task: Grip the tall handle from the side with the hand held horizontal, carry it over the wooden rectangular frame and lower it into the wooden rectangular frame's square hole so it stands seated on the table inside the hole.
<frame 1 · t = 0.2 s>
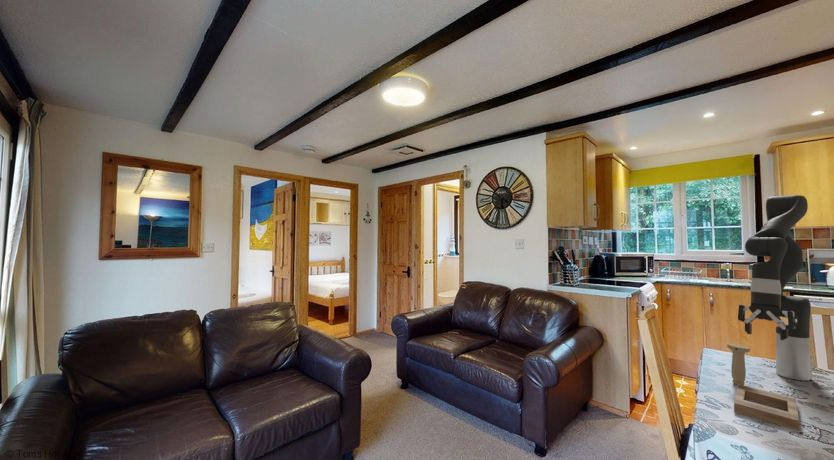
hand: (765, 336, 117), 22 cm above the table, tool pointing down, fingers open, 8 cm apart
wooden rectangular frame: (765, 409, 109), on the table
handle: (738, 384, 128), on the table
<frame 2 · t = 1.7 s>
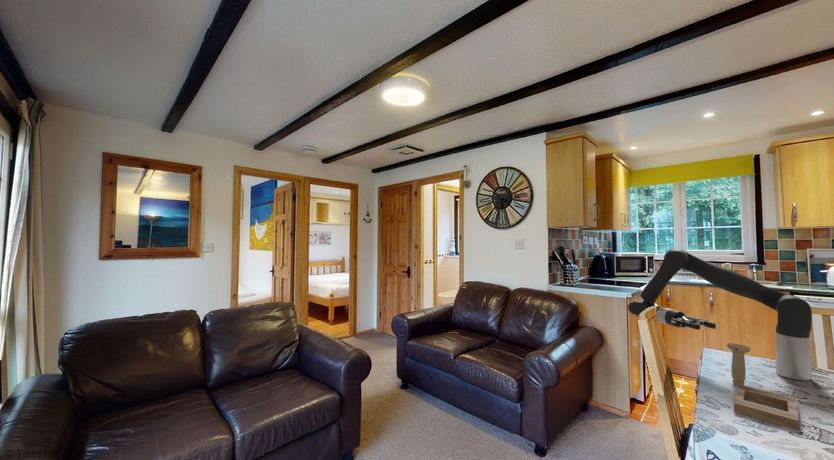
hand: (707, 326, 139), 19 cm above the table, tool horizontal, fingers open, 8 cm apart
nothing on the table moved.
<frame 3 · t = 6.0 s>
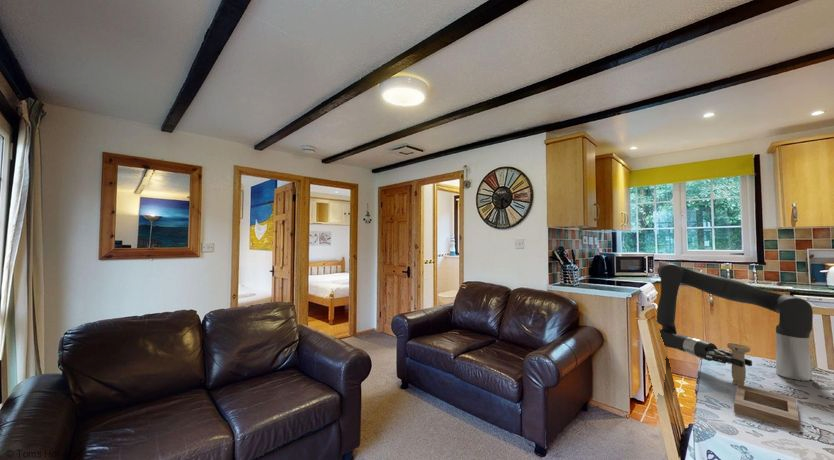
hand: (747, 363, 125), 9 cm above the table, tool horizontal, fingers closed on handle, 3 cm apart
handle: (738, 384, 128), on the table, touching gripper
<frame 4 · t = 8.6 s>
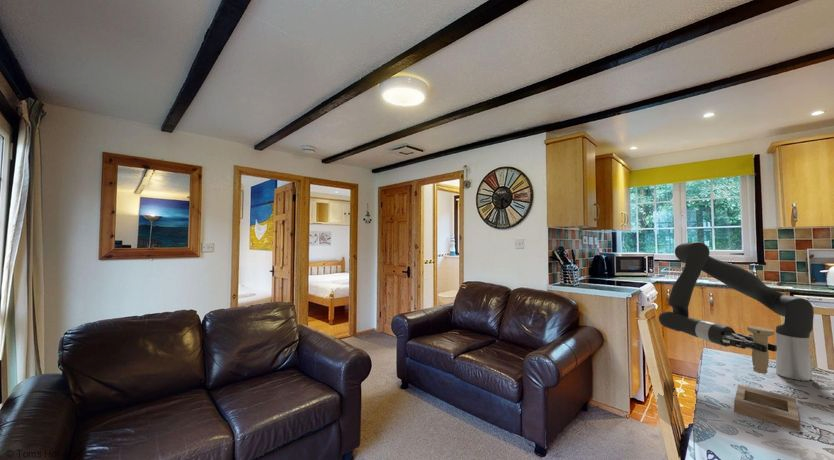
hand: (771, 348, 108), 21 cm above the table, tool horizontal, fingers closed on handle, 3 cm apart
handle: (760, 372, 111), point 12 cm above the table, touching gripper
when the fingers open (10 cm above the table, at t = 11.6 s): handle drops 1 cm, resting in wooden rectangular frame.
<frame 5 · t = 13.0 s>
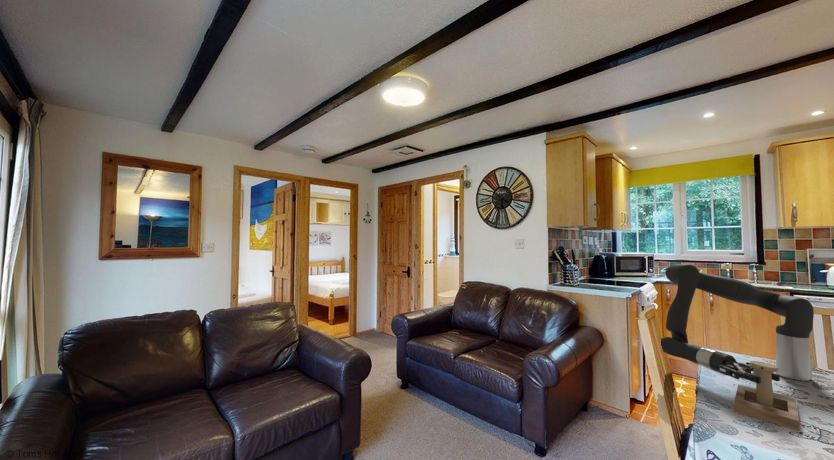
hand: (769, 379, 108), 10 cm above the table, tool horizontal, fingers open, 8 cm apart
handle: (764, 409, 110), resting in wooden rectangular frame
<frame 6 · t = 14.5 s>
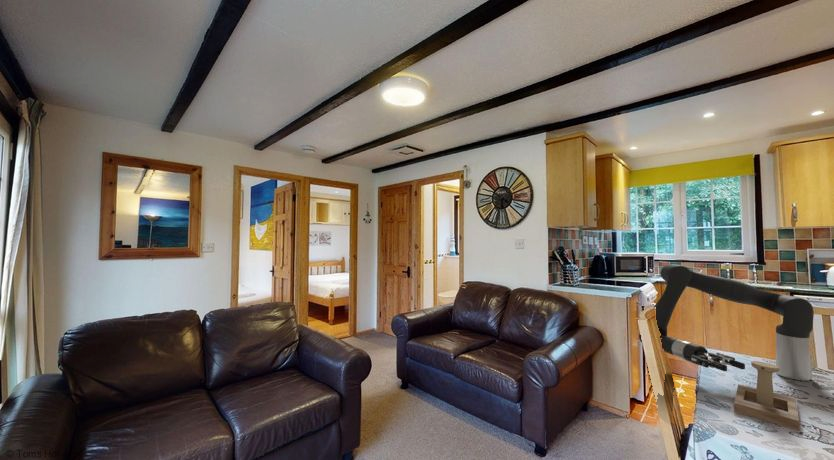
hand: (735, 367, 118), 11 cm above the table, tool horizontal, fingers open, 8 cm apart
nothing on the table moved.
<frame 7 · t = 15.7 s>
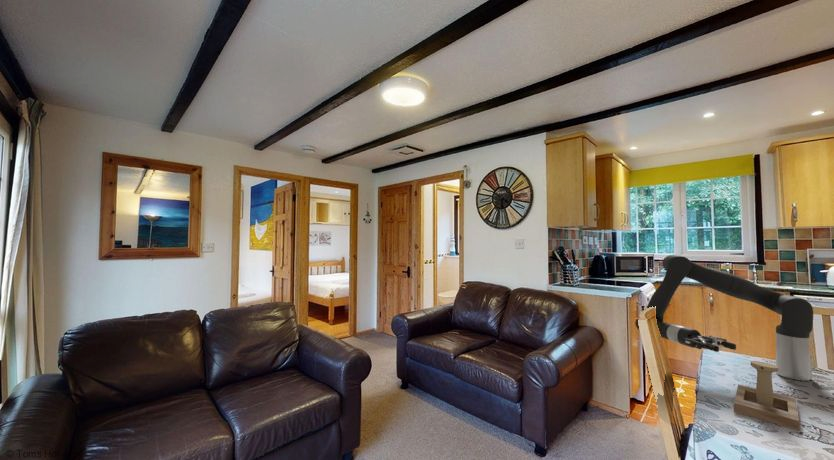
hand: (727, 348, 123), 16 cm above the table, tool horizontal, fingers open, 8 cm apart
nothing on the table moved.
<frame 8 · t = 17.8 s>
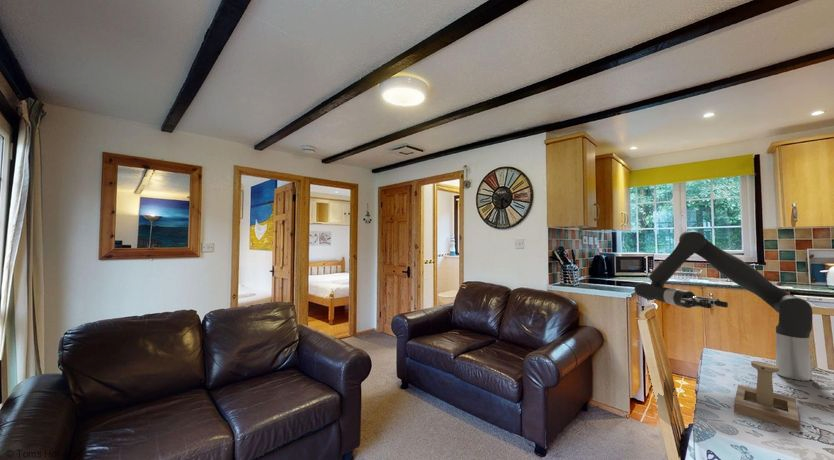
hand: (719, 305, 132), 30 cm above the table, tool horizontal, fingers open, 8 cm apart
nothing on the table moved.
at the end: handle 0.2 cm off-centre on the wooden rectangular frame, point 0.0 cm above the wooden rectangular frame's base; handle tilted 0°; the gripper is holding nothing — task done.
